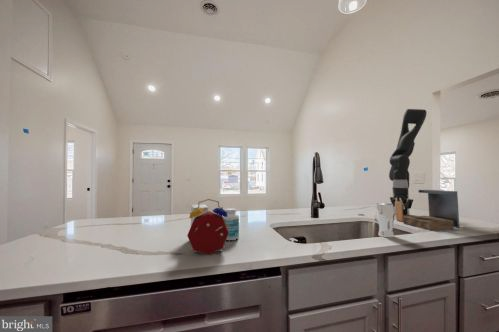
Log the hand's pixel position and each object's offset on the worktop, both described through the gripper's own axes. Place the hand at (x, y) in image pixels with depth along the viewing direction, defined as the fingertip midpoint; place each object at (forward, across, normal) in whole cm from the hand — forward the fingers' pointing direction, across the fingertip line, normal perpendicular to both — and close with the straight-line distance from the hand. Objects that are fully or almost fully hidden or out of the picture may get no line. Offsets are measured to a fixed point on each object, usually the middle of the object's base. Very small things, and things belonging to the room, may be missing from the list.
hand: (401, 214), depth 123 cm
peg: (+4, 0, 0) cm, 4 cm away
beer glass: (+4, +24, -36) cm, 43 cm away
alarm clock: (+4, +27, -118) cm, 121 cm away
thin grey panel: (+4, +13, +10) cm, 17 cm away
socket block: (+4, +13, +2) cm, 14 cm away
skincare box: (+4, +12, -122) cm, 122 cm away
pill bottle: (+4, +12, -108) cm, 109 cm away
